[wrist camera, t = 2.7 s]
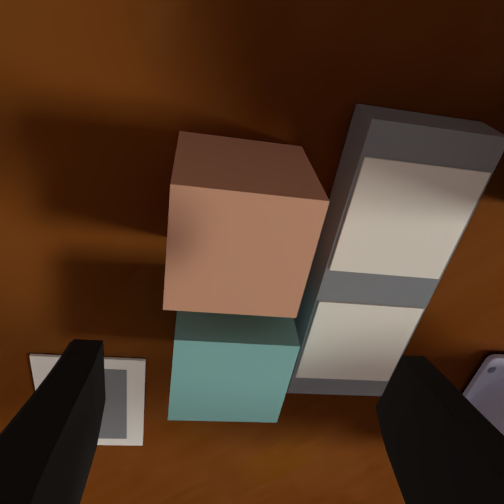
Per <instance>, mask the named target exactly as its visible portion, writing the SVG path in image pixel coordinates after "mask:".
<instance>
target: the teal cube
mask: <svg viewBox="0 0 504 504" xmlns="http://www.w3.org/2000/svg"><path fill="white" fill-rule="evenodd" d="M299 349H300V343H299V339H298V335H297V331H296V327H295V322H294V318H288V317H272V316H256V315H240V314H223V313H207V312H191V311H177V315H176V326H175V337H174V349H173V361H172V374H171V386H170V398H169V410H168V420H185V421H230V422H274V423H277V421H278V417H279V414H280V411H281V408H282V404H283V401H284V398H285V395H286V391H287V388H288V385H289V382H290V378H291V375H292V372H293V369H294V365H295V362H296V359H297V356H298V352H299Z"/></svg>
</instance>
